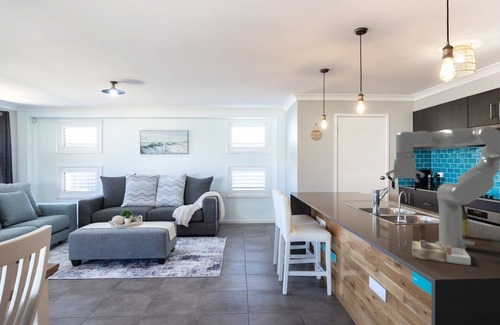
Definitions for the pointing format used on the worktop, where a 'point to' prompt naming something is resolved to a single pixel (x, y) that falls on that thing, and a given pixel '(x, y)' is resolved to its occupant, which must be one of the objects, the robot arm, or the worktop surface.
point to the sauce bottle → (464, 222)
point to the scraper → (422, 234)
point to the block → (448, 249)
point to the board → (428, 251)
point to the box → (458, 256)
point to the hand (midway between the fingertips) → (404, 189)
